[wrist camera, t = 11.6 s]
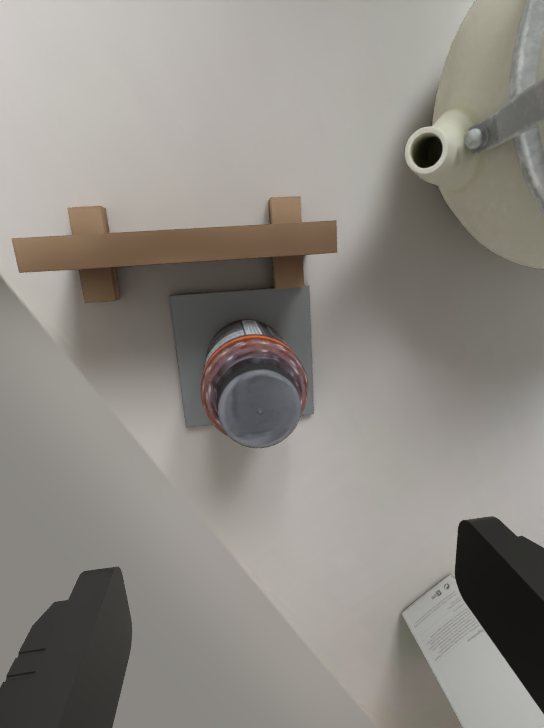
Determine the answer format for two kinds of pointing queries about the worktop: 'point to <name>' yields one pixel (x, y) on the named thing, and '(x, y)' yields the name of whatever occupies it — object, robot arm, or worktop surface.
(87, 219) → the wooden panel
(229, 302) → the mat
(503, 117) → the kettle
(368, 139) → the worktop surface
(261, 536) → the worktop surface
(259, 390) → the supplement bottle
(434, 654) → the skincare box
